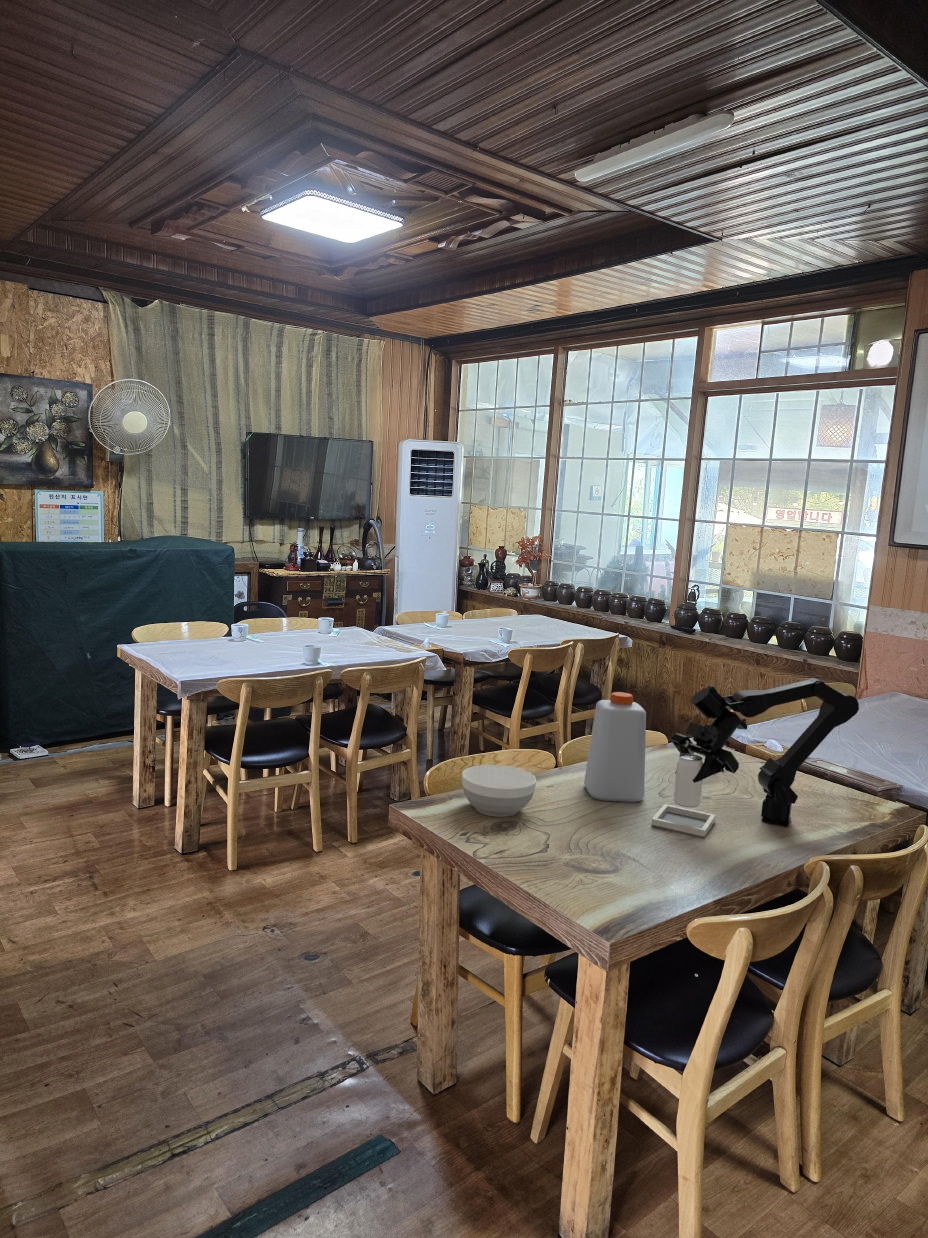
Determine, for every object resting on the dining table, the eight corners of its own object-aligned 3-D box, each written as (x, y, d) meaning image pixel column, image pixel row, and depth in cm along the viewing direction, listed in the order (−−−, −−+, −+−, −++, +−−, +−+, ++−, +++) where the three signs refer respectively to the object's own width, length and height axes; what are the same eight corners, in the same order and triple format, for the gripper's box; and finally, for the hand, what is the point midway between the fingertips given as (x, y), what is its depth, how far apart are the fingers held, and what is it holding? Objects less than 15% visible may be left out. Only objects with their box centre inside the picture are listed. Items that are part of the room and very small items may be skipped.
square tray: (714, 822, 214) (715, 815, 214) (704, 838, 203) (705, 830, 203) (664, 811, 220) (664, 804, 220) (651, 826, 209) (651, 818, 208)
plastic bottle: (633, 785, 240) (642, 689, 236) (647, 804, 225) (656, 702, 221) (581, 783, 239) (589, 686, 235) (591, 801, 224) (599, 699, 220)
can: (670, 804, 209) (674, 757, 208) (676, 797, 215) (680, 751, 213) (696, 809, 206) (701, 762, 205) (702, 802, 212) (706, 756, 210)
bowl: (529, 827, 203) (531, 792, 202) (452, 817, 206) (454, 782, 205) (537, 802, 221) (540, 769, 220) (467, 792, 225) (469, 761, 224)
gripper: (678, 702, 217) (643, 748, 213) (735, 720, 202) (698, 769, 197) (697, 729, 223) (663, 774, 218) (754, 748, 207) (718, 797, 203)
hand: (684, 778), depth 209 cm, fingers closed on can, 5 cm apart
